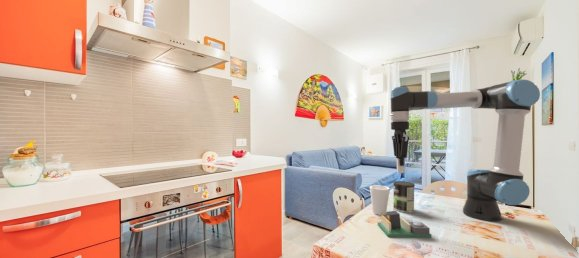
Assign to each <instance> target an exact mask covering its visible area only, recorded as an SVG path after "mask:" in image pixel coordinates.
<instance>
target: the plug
mask: <svg viewBox="0 0 579 258" xmlns="http://www.w3.org/2000/svg"><path fill="white" fill-rule="evenodd" d="M385 215H386V219H387V220H388V221H389V222H390V223H391V229H401V224H400V217H401V215H400V213H399V211H397V210H390V211H386V214H385Z"/></svg>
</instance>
